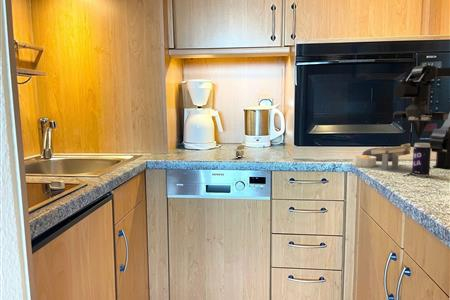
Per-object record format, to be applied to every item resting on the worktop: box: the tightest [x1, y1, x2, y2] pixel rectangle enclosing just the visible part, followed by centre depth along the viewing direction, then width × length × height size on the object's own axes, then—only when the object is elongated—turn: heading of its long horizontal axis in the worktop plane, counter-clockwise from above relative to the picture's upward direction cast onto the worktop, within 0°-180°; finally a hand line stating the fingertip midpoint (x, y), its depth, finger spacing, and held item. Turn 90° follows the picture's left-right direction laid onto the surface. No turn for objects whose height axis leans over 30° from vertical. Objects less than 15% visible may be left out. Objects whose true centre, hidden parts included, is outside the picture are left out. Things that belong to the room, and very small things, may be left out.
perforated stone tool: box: [361, 146, 393, 162], centre depth 167 cm, size 15×5×7 cm, turn 79°
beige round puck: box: [352, 154, 377, 167], centre depth 153 cm, size 9×9×4 cm
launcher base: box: [345, 152, 414, 177], centre depth 148 cm, size 14×24×7 cm, turn 42°
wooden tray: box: [371, 143, 412, 157], centre depth 147 cm, size 16×13×4 cm
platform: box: [233, 144, 247, 158], centre depth 183 cm, size 12×18×7 cm, turn 158°
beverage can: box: [411, 142, 432, 178], centre depth 135 cm, size 6×6×12 cm
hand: (418, 137), depth 147 cm, fingers closed
